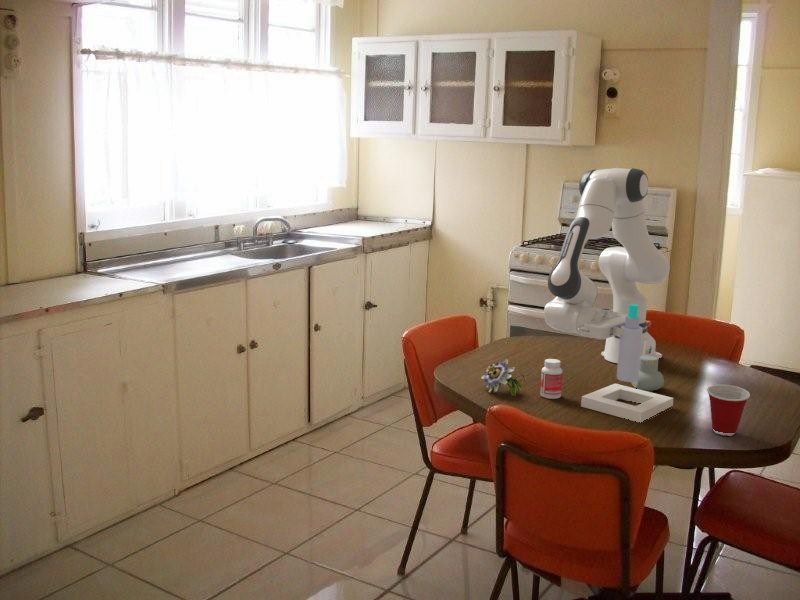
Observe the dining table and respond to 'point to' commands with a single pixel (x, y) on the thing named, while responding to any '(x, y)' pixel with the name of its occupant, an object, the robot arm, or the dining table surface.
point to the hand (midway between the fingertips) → (635, 331)
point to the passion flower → (501, 377)
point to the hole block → (607, 404)
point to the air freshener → (649, 374)
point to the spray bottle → (630, 347)
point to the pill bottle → (551, 379)
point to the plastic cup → (726, 406)
